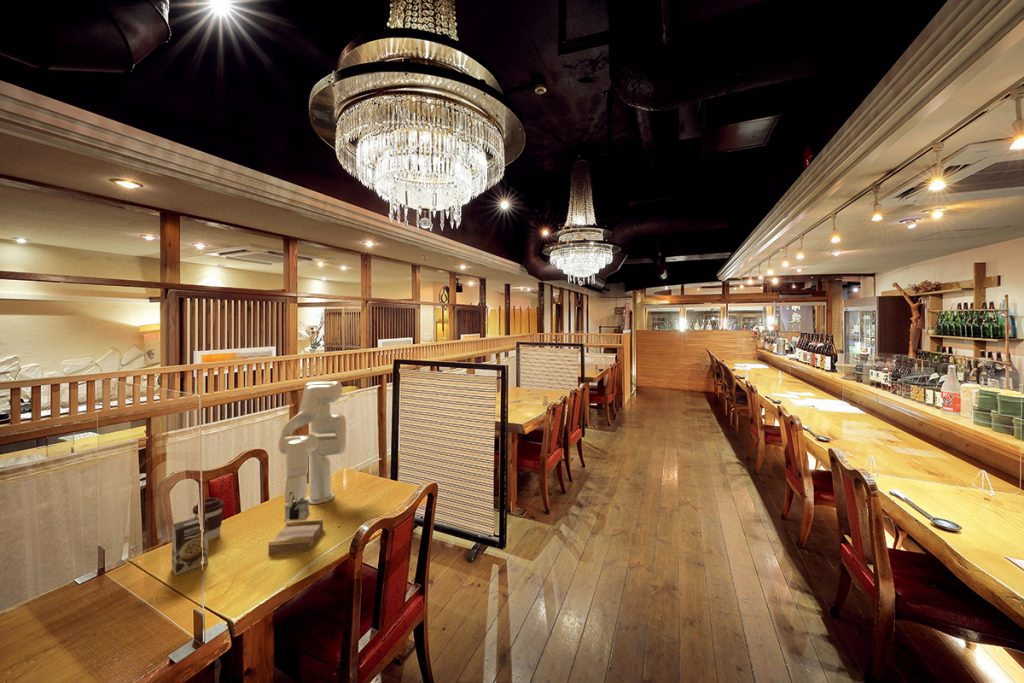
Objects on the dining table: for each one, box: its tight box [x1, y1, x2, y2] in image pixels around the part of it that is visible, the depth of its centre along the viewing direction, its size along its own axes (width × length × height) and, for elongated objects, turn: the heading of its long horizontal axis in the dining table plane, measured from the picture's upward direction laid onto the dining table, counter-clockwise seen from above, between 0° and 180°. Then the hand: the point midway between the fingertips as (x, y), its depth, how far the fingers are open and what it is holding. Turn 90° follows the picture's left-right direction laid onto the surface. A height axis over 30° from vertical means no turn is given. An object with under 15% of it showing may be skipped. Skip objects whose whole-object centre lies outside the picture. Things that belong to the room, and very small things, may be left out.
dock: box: [268, 518, 324, 555], centre depth 149 cm, size 16×14×5 cm
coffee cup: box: [192, 497, 225, 542], centre depth 152 cm, size 10×10×15 cm
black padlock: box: [283, 499, 311, 523], centre depth 149 cm, size 5×8×6 cm, turn 98°
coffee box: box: [171, 517, 209, 576], centre depth 133 cm, size 9×6×16 cm
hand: (297, 515), depth 149 cm, fingers closed on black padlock, 4 cm apart
